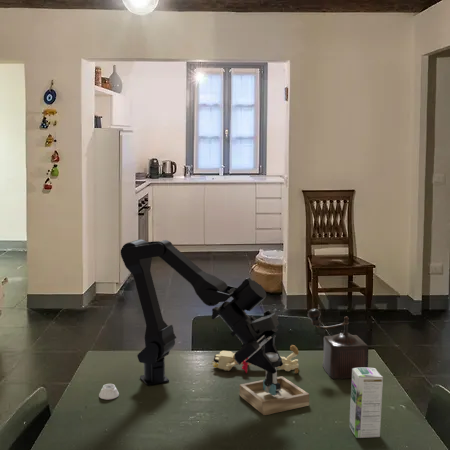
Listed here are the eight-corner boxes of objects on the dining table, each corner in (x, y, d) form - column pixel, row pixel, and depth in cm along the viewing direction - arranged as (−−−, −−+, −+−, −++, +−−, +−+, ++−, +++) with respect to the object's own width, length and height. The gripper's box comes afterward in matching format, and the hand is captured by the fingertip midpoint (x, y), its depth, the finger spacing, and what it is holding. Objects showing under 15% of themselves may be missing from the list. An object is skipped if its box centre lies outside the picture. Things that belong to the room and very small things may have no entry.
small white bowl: (122, 396, 161) (111, 391, 165) (122, 386, 161) (111, 380, 164) (106, 402, 158) (95, 396, 161) (106, 391, 157) (95, 385, 161)
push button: (289, 394, 157) (289, 357, 155) (272, 400, 154) (272, 362, 152) (272, 385, 163) (272, 349, 161) (256, 390, 160) (256, 354, 158)
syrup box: (348, 426, 144) (350, 367, 142) (373, 426, 145) (375, 366, 143) (355, 438, 139) (357, 376, 136) (381, 437, 139) (383, 376, 137)
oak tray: (239, 395, 162) (239, 384, 161) (282, 386, 167) (282, 376, 167) (264, 415, 150) (264, 403, 150) (309, 405, 156) (309, 394, 155)
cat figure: (296, 368, 184) (212, 359, 186) (299, 340, 183) (215, 332, 184) (297, 381, 174) (209, 372, 176) (300, 352, 173) (212, 342, 175)
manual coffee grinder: (355, 363, 184) (357, 305, 182) (368, 378, 174) (370, 316, 171) (304, 366, 182) (305, 307, 180) (314, 380, 171) (316, 318, 169)
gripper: (247, 312, 148) (290, 363, 145) (271, 294, 165) (310, 339, 162) (216, 339, 152) (257, 389, 150) (243, 318, 169) (281, 363, 167)
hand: (278, 369), depth 157 cm, fingers closed on push button, 5 cm apart
